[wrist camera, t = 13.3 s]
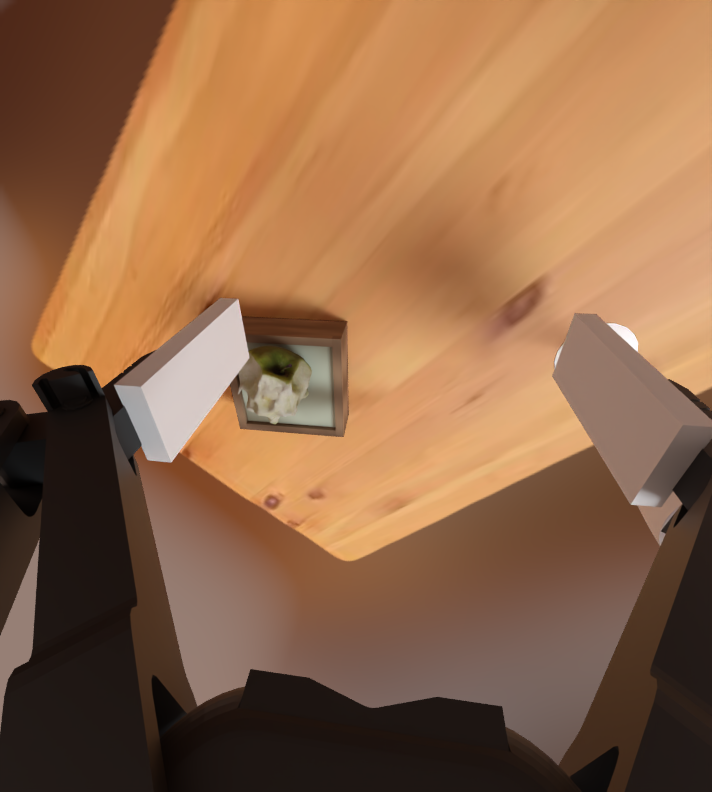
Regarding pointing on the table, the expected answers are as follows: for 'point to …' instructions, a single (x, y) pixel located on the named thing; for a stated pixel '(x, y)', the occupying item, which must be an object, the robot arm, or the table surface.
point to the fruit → (274, 381)
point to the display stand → (327, 382)
